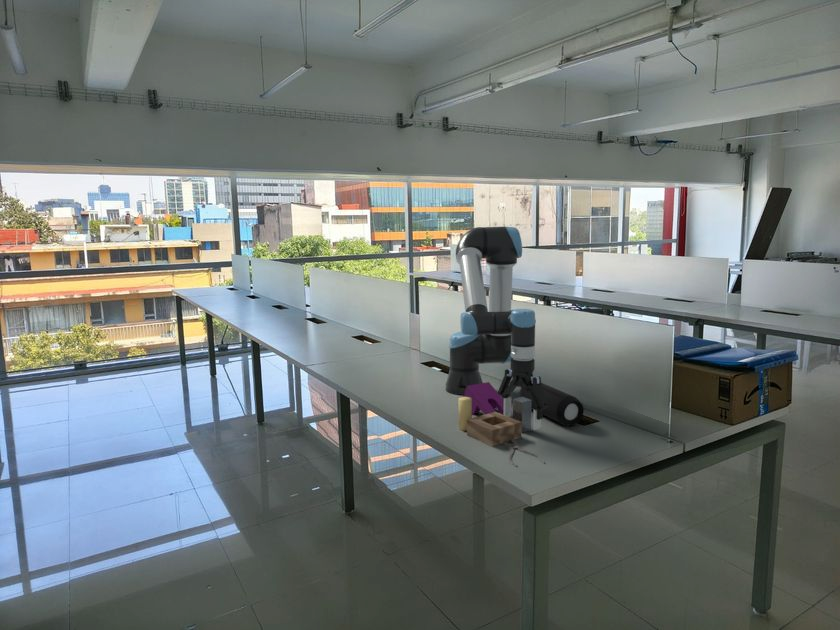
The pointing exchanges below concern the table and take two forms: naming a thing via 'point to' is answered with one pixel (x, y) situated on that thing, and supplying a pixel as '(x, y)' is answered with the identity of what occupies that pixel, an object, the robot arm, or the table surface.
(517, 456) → the table surface
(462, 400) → the round peg
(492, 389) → the mounting bracket
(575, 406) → the portable speaker
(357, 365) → the table surface
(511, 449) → the pliers
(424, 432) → the table surface
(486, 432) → the socket block
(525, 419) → the square peg
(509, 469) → the table surface
